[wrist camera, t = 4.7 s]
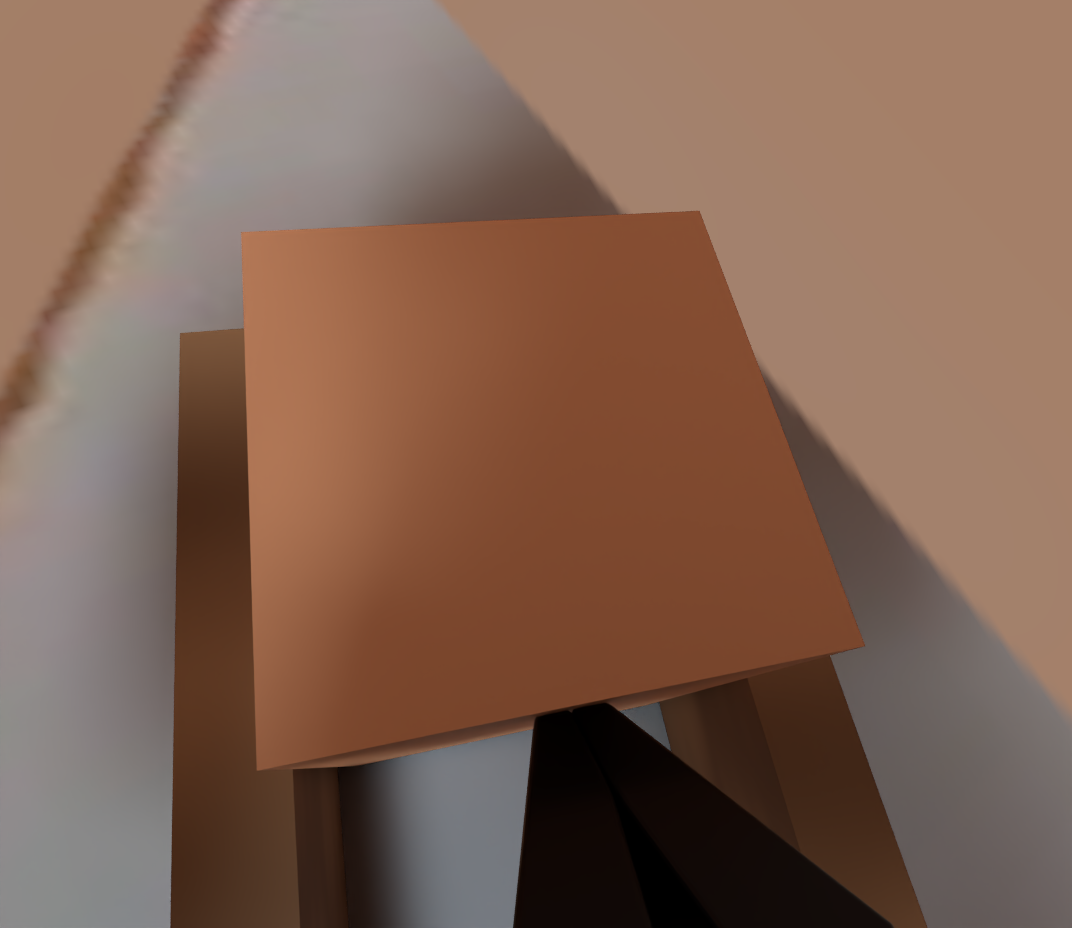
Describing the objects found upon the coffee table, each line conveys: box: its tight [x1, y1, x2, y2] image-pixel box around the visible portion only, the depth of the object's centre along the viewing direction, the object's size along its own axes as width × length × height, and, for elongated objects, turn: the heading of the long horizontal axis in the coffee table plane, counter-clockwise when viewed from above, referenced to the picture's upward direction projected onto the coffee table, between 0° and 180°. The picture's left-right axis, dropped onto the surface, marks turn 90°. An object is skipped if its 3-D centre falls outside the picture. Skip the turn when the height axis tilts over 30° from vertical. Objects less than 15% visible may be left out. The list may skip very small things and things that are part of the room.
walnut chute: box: [170, 329, 927, 928], centre depth 11 cm, size 18×10×4 cm, turn 11°
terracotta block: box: [241, 211, 865, 771], centre depth 11 cm, size 6×6×8 cm
